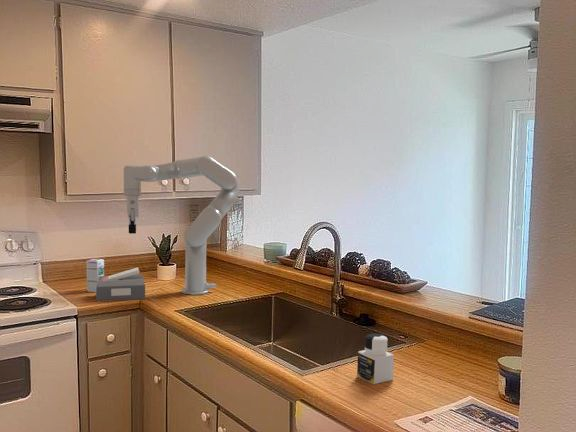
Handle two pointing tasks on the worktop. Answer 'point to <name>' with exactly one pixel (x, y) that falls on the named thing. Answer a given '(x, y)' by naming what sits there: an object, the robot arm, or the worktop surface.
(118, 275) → the rocker switch
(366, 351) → the medicine bottle
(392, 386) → the worktop surface
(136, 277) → the breaker box
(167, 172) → the robot arm
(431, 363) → the worktop surface
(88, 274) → the syrup box
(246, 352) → the worktop surface
